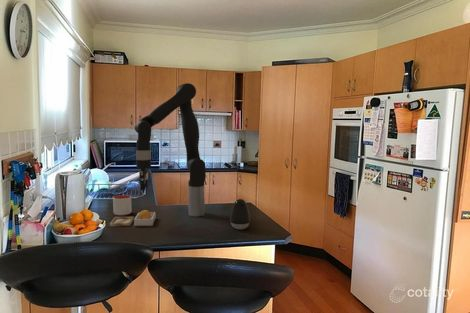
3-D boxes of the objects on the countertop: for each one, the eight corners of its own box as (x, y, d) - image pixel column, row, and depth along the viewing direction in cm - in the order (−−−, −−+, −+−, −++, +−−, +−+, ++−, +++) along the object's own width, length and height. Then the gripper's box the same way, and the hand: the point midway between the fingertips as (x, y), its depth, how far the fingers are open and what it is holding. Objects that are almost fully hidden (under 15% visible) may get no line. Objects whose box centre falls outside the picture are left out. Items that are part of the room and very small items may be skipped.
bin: (155, 218, 185) (155, 212, 185) (152, 225, 172) (152, 219, 171) (138, 218, 184) (138, 212, 184) (134, 226, 171) (134, 219, 170)
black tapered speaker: (233, 232, 163) (233, 201, 161) (227, 225, 173) (228, 197, 171) (252, 230, 166) (253, 200, 164) (246, 224, 176) (246, 196, 174)
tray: (133, 219, 183) (133, 216, 183) (129, 225, 171) (129, 223, 171) (115, 219, 182) (115, 217, 182) (109, 226, 170) (109, 223, 170)
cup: (126, 216, 188) (125, 199, 187) (110, 215, 190) (109, 198, 189) (134, 212, 198) (134, 195, 197) (119, 211, 200) (119, 194, 199)
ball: (151, 219, 181) (151, 208, 180) (150, 222, 175) (150, 211, 175) (140, 219, 180) (140, 208, 180) (138, 223, 174) (138, 211, 174)
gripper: (148, 160, 168) (149, 191, 170) (152, 157, 182) (153, 186, 184) (133, 160, 167) (134, 191, 169) (138, 157, 181) (139, 186, 183)
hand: (144, 188), depth 176 cm, fingers open, 8 cm apart
